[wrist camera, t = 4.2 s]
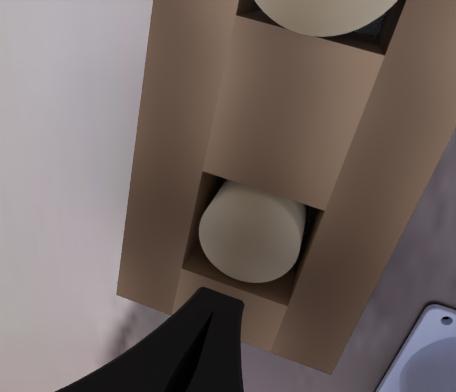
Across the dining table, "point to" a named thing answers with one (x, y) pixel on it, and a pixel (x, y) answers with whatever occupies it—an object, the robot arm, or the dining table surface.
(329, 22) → the peg front
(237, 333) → the robot arm
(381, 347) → the dining table surface
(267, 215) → the peg back
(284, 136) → the walnut block
